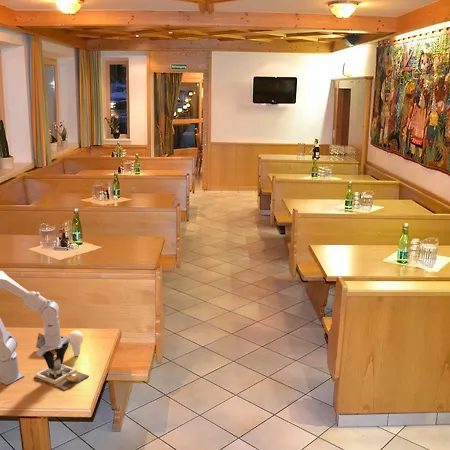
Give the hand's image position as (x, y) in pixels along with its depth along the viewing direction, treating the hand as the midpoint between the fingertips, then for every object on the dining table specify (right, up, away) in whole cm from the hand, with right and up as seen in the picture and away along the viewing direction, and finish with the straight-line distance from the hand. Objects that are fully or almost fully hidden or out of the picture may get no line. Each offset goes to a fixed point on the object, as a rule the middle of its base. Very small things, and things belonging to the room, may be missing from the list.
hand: (55, 365), depth 221 cm
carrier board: (+2, -4, 0) cm, 5 cm away
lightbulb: (+4, 0, +17) cm, 18 cm away
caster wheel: (-8, +1, +25) cm, 26 cm away
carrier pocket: (0, -4, +1) cm, 4 cm away
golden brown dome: (+8, -5, -4) cm, 10 cm away
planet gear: (0, -3, +1) cm, 3 cm away
